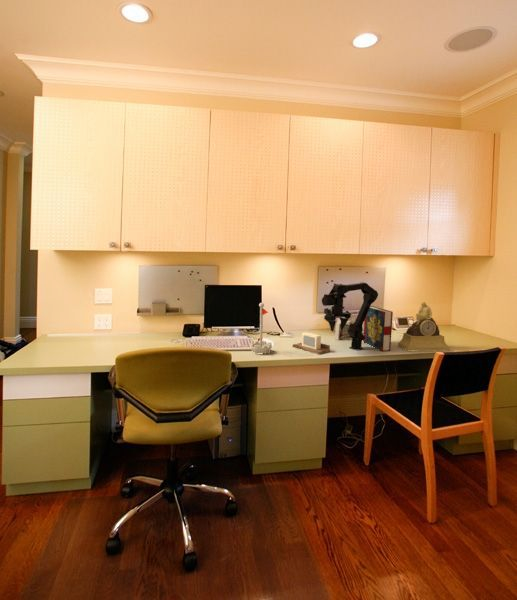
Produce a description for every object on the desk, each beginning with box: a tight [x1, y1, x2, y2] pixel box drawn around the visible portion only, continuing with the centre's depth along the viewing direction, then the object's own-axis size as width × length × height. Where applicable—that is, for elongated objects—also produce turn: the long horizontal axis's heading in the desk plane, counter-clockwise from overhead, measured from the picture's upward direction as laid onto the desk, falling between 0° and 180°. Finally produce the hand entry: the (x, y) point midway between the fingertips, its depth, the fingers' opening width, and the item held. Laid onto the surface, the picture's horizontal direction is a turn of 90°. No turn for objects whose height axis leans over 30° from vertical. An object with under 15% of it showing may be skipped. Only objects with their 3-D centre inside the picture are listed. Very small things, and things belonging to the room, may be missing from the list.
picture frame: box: [301, 332, 322, 349], centre depth 244 cm, size 4×12×8 cm, turn 40°
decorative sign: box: [334, 318, 354, 341], centre depth 279 cm, size 23×3×15 cm, turn 141°
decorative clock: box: [397, 301, 451, 352], centre depth 250 cm, size 28×13×30 cm, turn 96°
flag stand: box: [249, 302, 273, 354], centre depth 234 cm, size 13×13×30 cm
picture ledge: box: [292, 342, 331, 355], centre depth 244 cm, size 10×22×4 cm, turn 40°
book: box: [362, 305, 394, 352], centre depth 253 cm, size 25×7×25 cm, turn 14°
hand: (337, 330), depth 240 cm, fingers open, 9 cm apart
